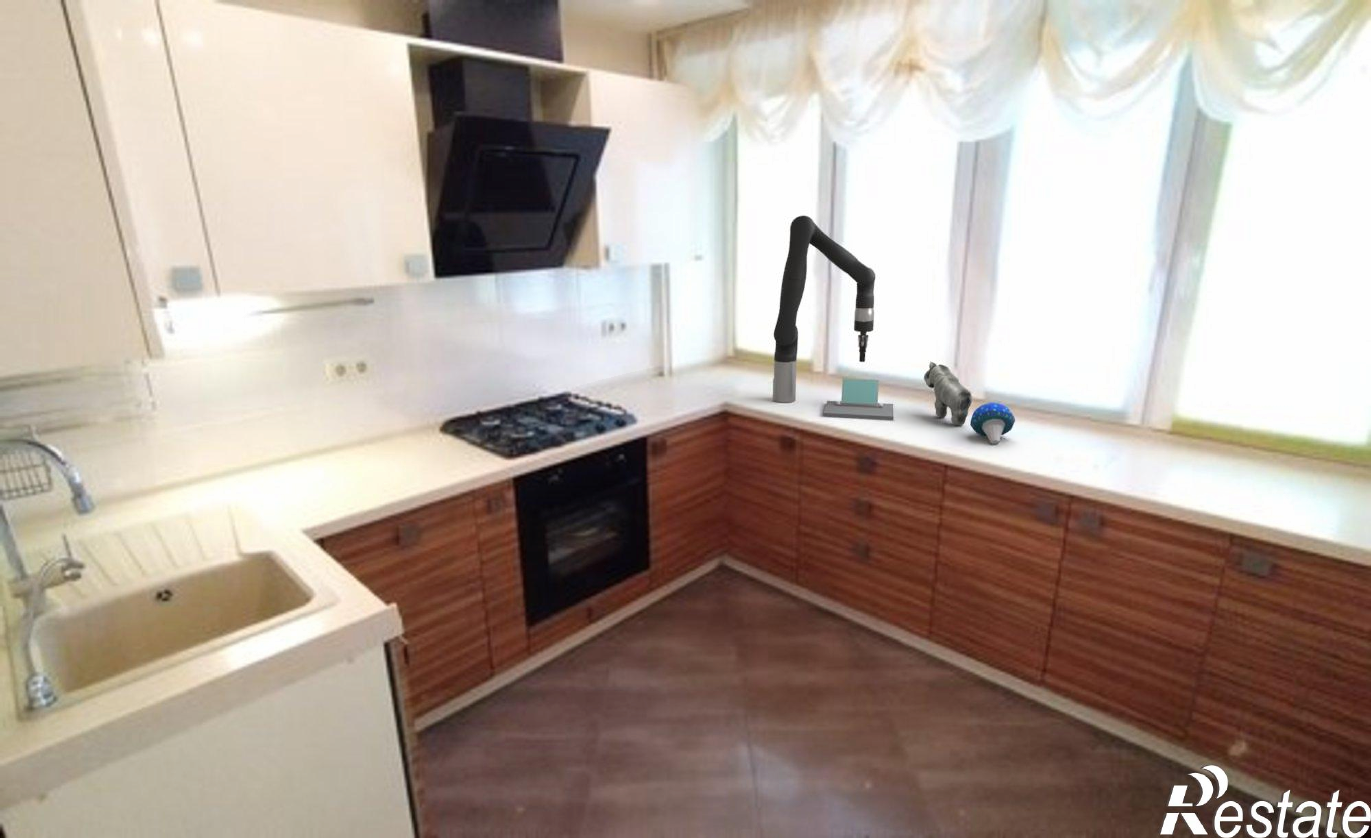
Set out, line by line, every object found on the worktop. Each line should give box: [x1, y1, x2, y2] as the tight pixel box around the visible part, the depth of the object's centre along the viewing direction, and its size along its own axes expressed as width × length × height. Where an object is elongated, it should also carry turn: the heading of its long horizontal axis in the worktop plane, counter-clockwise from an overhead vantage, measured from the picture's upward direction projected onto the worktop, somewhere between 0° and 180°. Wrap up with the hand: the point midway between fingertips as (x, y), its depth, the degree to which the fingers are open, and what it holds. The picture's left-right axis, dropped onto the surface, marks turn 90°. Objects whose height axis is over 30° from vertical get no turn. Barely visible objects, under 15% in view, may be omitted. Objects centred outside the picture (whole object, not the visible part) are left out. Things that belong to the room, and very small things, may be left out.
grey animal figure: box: [923, 361, 973, 427], centre depth 249 cm, size 25×9×20 cm, turn 15°
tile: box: [840, 378, 880, 405], centre depth 265 cm, size 14×10×2 cm
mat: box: [823, 400, 895, 421], centre depth 262 cm, size 26×18×3 cm
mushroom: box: [969, 402, 1016, 445], centre depth 227 cm, size 14×14×15 cm
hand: (862, 361), depth 270 cm, fingers closed
